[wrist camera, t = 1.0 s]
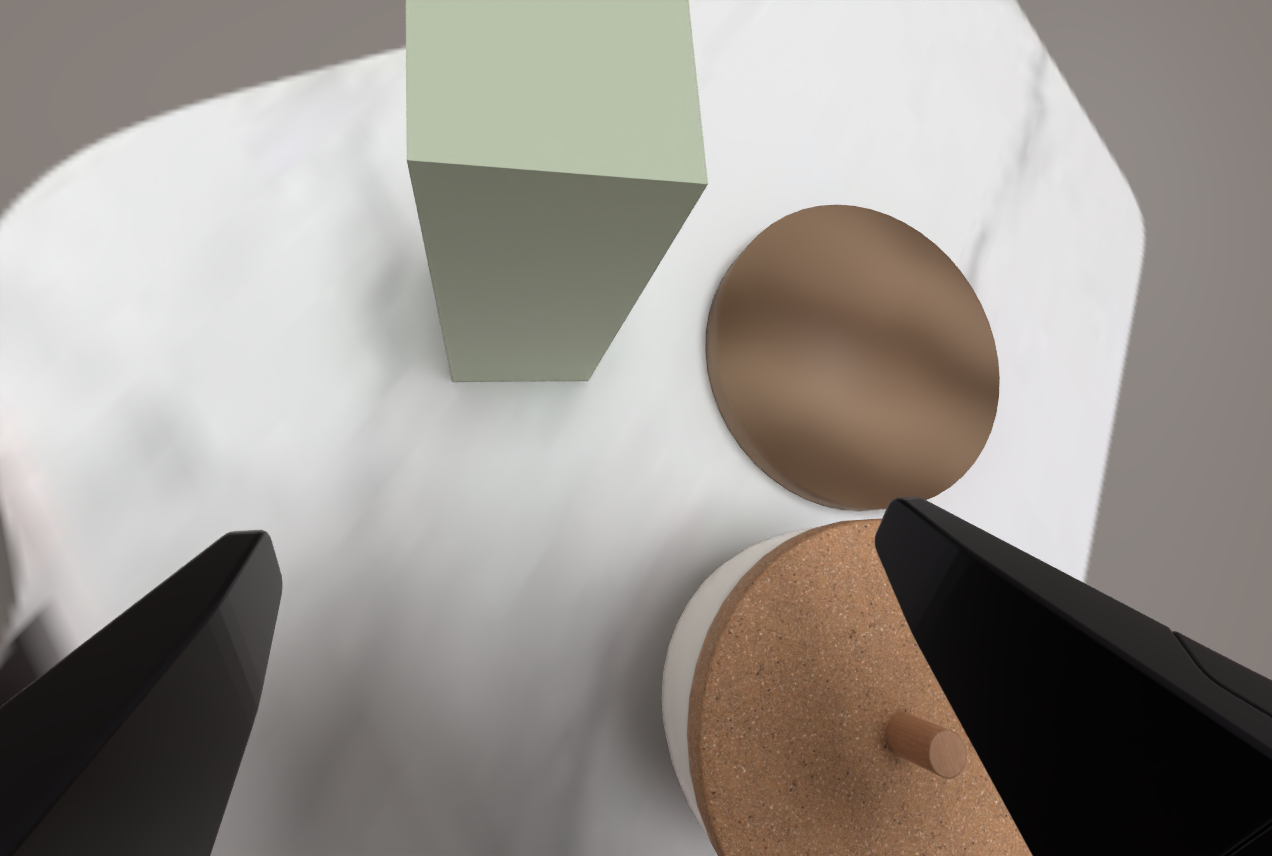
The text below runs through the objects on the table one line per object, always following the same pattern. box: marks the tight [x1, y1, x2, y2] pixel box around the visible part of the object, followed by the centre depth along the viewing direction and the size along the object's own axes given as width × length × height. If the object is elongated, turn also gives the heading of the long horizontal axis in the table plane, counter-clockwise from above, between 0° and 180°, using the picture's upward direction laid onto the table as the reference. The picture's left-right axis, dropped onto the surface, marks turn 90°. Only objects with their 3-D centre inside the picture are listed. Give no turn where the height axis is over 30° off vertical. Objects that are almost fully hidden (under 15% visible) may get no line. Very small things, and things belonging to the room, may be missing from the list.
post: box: [406, 0, 708, 382], centre depth 16 cm, size 5×5×13 cm
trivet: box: [706, 205, 1000, 511], centre depth 25 cm, size 13×13×2 cm
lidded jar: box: [662, 519, 1032, 856], centre depth 18 cm, size 11×11×9 cm
